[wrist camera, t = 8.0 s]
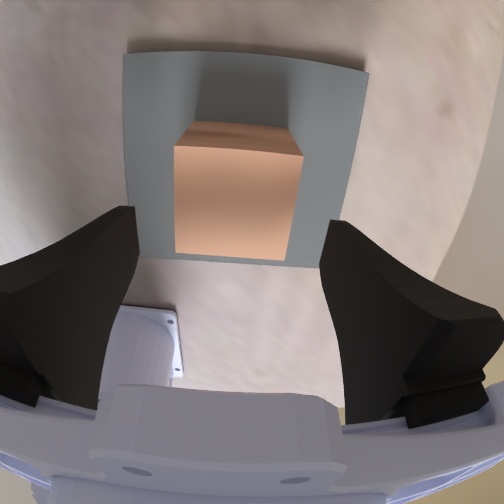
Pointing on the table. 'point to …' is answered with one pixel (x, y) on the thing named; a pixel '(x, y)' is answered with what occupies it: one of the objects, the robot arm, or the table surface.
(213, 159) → the cube
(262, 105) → the slate mat
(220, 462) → the robot arm
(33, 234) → the table surface
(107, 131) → the table surface
